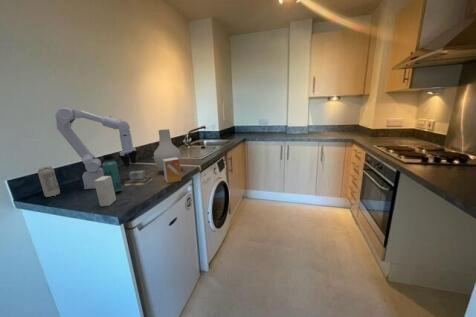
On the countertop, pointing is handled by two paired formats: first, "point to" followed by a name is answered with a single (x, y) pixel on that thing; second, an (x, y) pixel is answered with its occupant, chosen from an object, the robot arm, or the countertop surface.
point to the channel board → (138, 182)
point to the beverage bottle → (112, 171)
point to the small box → (172, 170)
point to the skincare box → (105, 190)
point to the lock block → (137, 175)
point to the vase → (165, 148)
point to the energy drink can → (48, 181)
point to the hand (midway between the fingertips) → (130, 164)
